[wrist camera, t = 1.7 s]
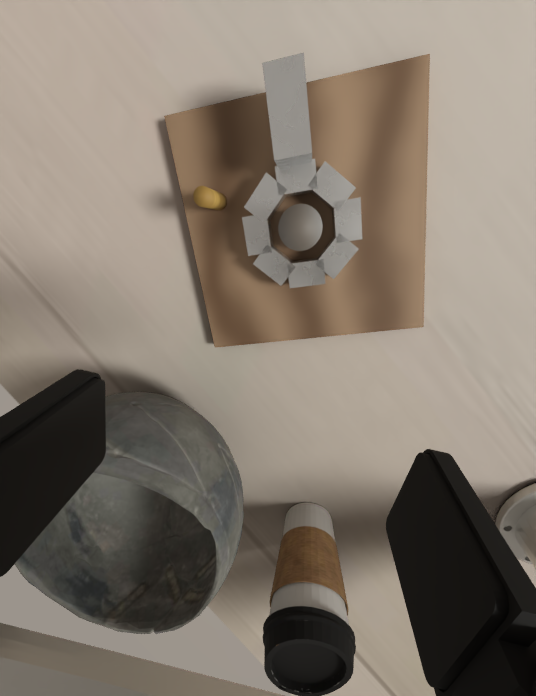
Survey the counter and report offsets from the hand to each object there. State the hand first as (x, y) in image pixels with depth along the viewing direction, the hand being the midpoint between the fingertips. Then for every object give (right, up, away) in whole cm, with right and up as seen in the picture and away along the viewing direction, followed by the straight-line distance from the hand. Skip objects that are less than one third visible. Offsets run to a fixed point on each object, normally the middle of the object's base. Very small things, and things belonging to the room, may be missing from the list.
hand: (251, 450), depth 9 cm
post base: (+4, +14, +19) cm, 24 cm away
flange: (+3, +16, +16) cm, 23 cm away
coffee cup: (+6, -19, +31) cm, 37 cm away
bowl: (-11, -8, +29) cm, 32 cm away
